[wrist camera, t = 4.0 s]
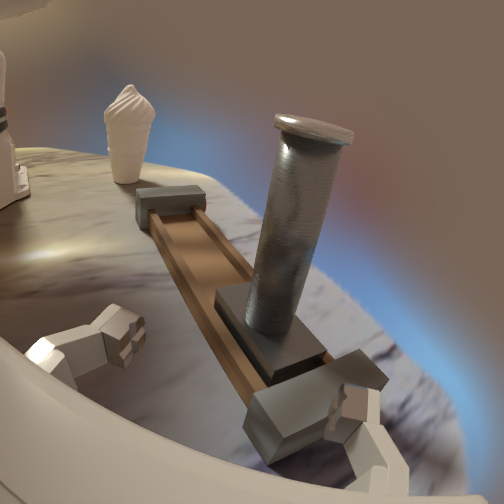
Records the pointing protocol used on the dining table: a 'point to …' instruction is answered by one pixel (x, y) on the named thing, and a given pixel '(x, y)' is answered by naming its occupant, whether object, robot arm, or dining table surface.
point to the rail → (220, 339)
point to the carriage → (286, 253)
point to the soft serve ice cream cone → (128, 134)
